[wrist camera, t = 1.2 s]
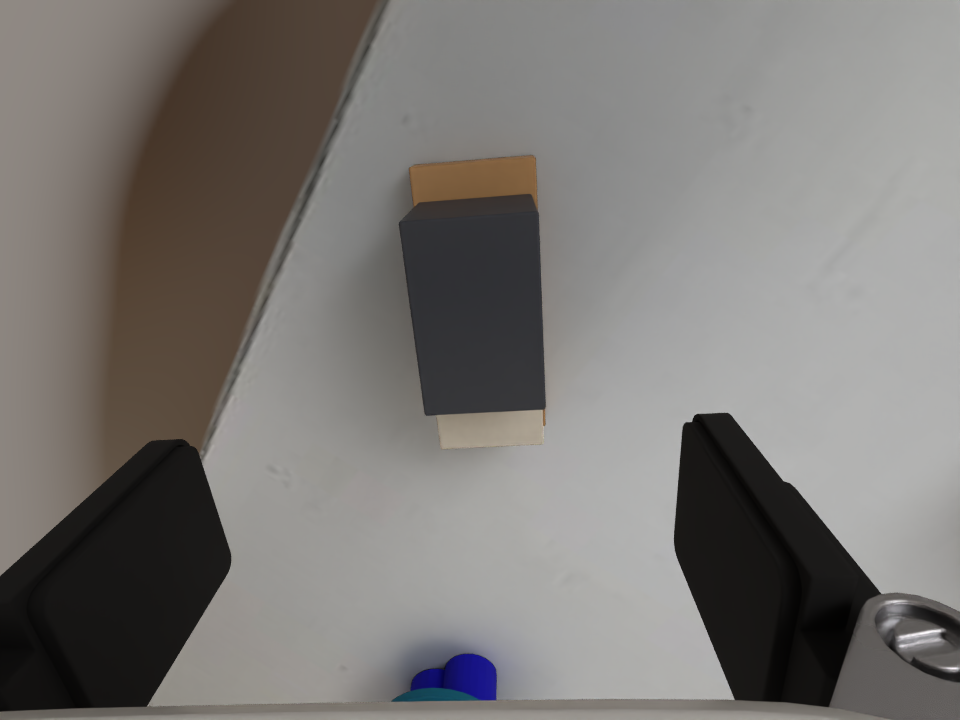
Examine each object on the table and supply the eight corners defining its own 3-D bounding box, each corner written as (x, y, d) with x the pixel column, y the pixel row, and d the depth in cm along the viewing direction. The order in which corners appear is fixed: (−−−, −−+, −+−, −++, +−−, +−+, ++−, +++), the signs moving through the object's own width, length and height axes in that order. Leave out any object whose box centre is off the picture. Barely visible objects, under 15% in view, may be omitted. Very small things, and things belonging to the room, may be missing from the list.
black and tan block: (413, 164, 22) (385, 178, 17) (534, 154, 22) (544, 165, 16) (443, 418, 26) (429, 491, 21) (543, 413, 26) (553, 485, 21)
